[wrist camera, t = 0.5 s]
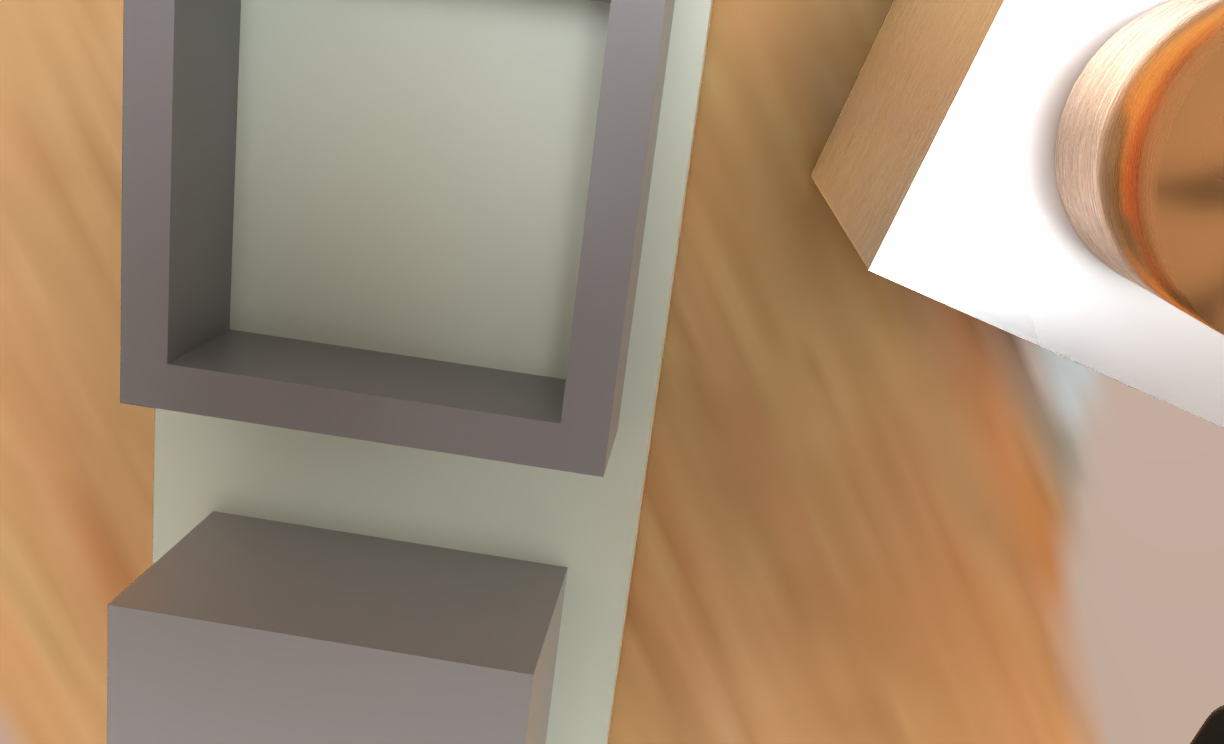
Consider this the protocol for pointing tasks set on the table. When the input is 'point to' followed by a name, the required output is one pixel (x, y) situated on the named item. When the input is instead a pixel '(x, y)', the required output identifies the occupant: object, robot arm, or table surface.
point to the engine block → (1050, 177)
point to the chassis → (394, 359)
